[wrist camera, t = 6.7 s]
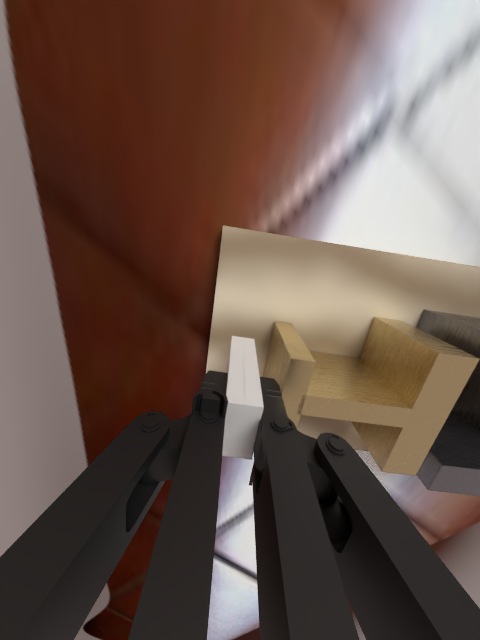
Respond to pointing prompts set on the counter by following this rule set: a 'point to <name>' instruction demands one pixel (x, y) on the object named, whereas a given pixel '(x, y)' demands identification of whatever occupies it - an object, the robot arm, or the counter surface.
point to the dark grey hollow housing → (456, 413)
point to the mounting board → (325, 299)
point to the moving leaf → (375, 387)
